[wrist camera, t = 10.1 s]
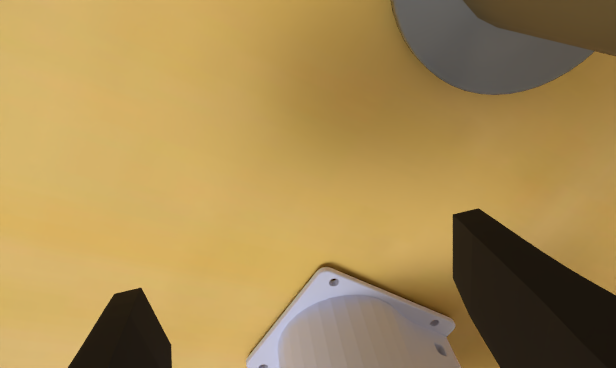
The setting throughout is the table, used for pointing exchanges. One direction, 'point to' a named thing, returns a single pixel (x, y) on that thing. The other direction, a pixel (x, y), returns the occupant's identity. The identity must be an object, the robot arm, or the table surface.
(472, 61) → the slate coaster
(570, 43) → the brown chess pawn
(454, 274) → the robot arm
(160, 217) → the table surface
